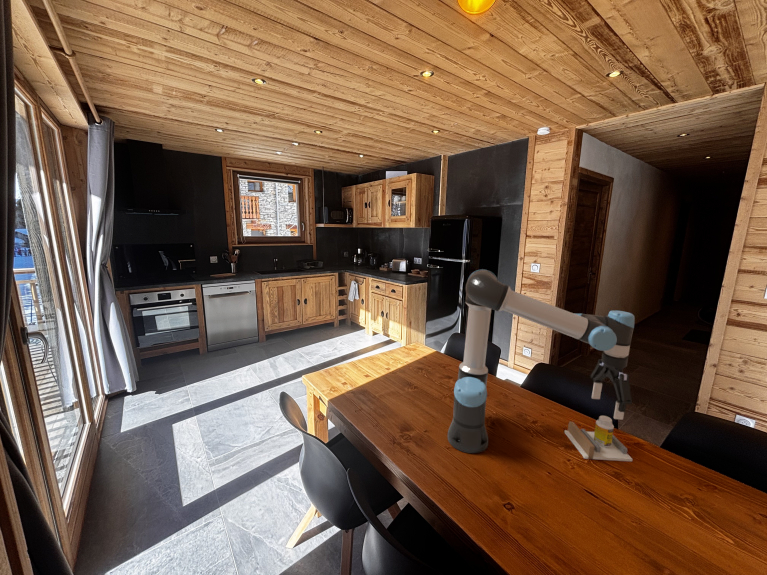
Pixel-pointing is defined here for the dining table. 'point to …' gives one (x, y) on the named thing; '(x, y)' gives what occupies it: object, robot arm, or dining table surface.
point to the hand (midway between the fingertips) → (606, 408)
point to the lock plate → (596, 445)
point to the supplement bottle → (604, 431)
